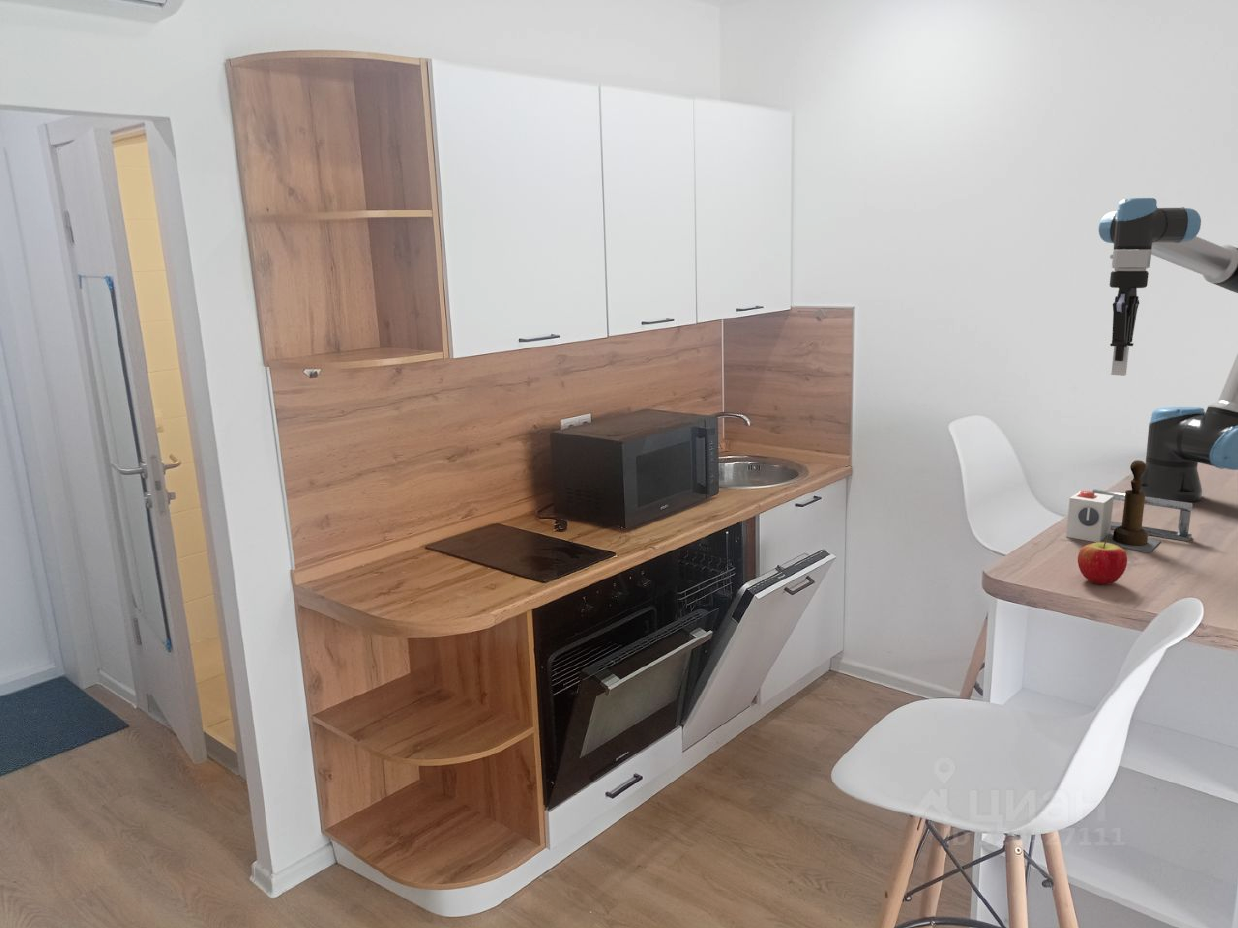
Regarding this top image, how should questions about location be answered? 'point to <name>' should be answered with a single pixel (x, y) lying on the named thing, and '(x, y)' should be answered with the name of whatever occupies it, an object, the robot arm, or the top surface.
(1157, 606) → the top surface
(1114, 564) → the apple
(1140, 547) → the pad
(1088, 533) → the white dial box
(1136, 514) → the brown wooden tall piece
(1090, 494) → the button
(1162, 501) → the handrail
